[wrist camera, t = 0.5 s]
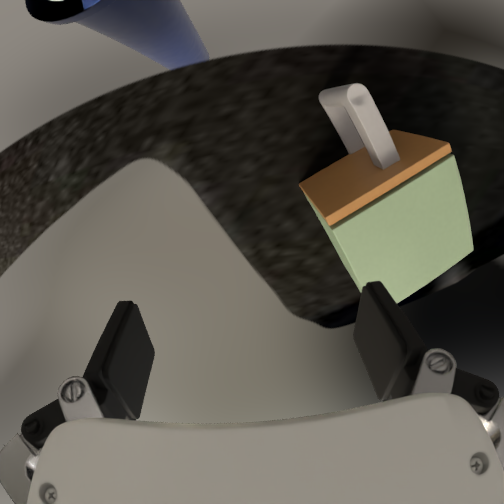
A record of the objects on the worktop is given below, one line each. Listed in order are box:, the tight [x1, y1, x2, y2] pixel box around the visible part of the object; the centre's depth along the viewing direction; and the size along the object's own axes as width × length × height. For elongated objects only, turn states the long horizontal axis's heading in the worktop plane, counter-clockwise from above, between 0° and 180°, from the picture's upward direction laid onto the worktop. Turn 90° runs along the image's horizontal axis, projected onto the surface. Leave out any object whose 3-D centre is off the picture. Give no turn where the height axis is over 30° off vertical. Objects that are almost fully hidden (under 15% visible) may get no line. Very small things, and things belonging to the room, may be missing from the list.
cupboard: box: [304, 154, 473, 303], centre depth 26 cm, size 10×12×13 cm
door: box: [299, 83, 452, 226], centre depth 22 cm, size 8×12×13 cm, turn 123°
